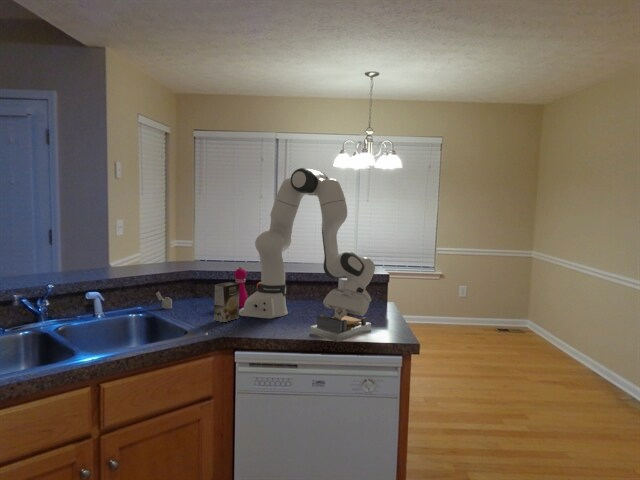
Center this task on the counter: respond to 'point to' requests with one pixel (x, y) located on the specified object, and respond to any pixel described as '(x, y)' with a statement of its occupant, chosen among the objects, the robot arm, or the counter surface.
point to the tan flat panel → (351, 320)
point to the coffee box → (226, 302)
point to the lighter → (165, 301)
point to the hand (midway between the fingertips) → (336, 319)
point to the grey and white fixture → (338, 328)
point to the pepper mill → (241, 285)
